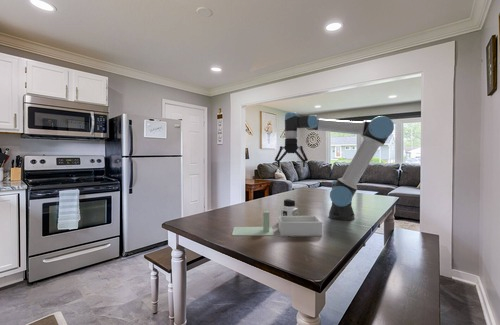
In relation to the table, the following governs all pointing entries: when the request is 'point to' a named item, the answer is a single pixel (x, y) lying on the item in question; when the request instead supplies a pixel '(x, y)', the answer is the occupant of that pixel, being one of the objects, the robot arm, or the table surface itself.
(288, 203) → the container
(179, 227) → the table surface
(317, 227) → the tub
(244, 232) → the green base with post
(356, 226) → the table surface
